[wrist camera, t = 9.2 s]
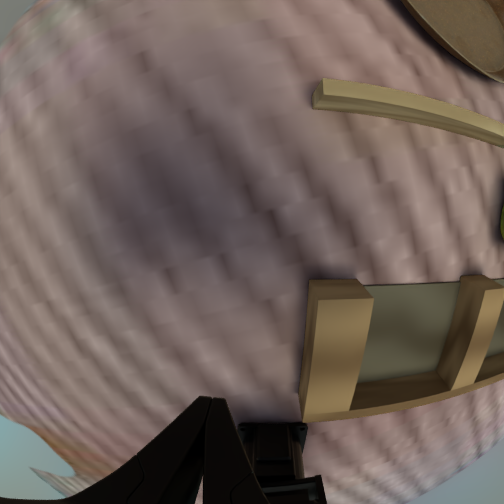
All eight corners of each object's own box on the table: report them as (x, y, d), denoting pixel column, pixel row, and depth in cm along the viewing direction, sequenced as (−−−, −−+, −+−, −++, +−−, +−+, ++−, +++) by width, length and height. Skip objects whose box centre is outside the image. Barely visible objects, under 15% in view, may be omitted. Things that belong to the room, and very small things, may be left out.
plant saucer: (480, -23, 10) (492, -32, 7) (529, 105, 15) (548, 103, 12) (348, -68, 11) (354, -85, 8) (401, 71, 16) (420, 58, 13)
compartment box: (515, 352, 21) (541, 377, 15) (298, 394, 22) (305, 446, 16) (549, 158, 16) (586, 161, 10) (311, 93, 16) (333, 59, 11)
